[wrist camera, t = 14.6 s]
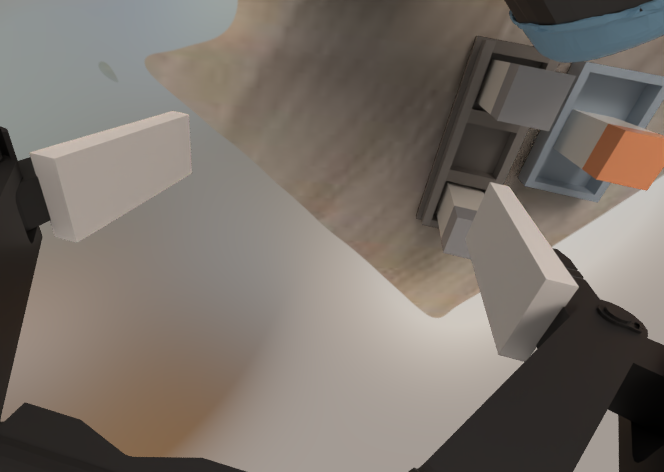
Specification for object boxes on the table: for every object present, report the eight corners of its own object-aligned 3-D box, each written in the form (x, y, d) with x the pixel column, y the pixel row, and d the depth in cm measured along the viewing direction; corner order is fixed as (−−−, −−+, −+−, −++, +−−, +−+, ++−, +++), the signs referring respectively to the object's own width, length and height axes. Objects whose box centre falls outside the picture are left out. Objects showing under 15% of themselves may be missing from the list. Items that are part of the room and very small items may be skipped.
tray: (573, 60, 37) (586, 61, 34) (657, 76, 36) (676, 79, 33) (517, 177, 44) (524, 186, 41) (586, 192, 43) (597, 202, 40)
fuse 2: (491, 59, 37) (519, 64, 28) (533, 67, 37) (576, 75, 27) (476, 102, 40) (497, 120, 30) (515, 110, 39) (548, 131, 30)
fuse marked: (572, 109, 38) (625, 130, 29) (614, 117, 38) (681, 142, 29) (552, 147, 41) (596, 179, 31) (591, 156, 40) (646, 190, 31)
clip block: (476, 36, 37) (481, 35, 35) (560, 52, 37) (571, 52, 34) (416, 215, 49) (416, 224, 46) (478, 230, 48) (482, 240, 46)
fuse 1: (447, 180, 45) (457, 217, 35) (481, 188, 44) (501, 227, 35) (436, 210, 47) (443, 252, 38) (468, 218, 47) (483, 262, 37)
